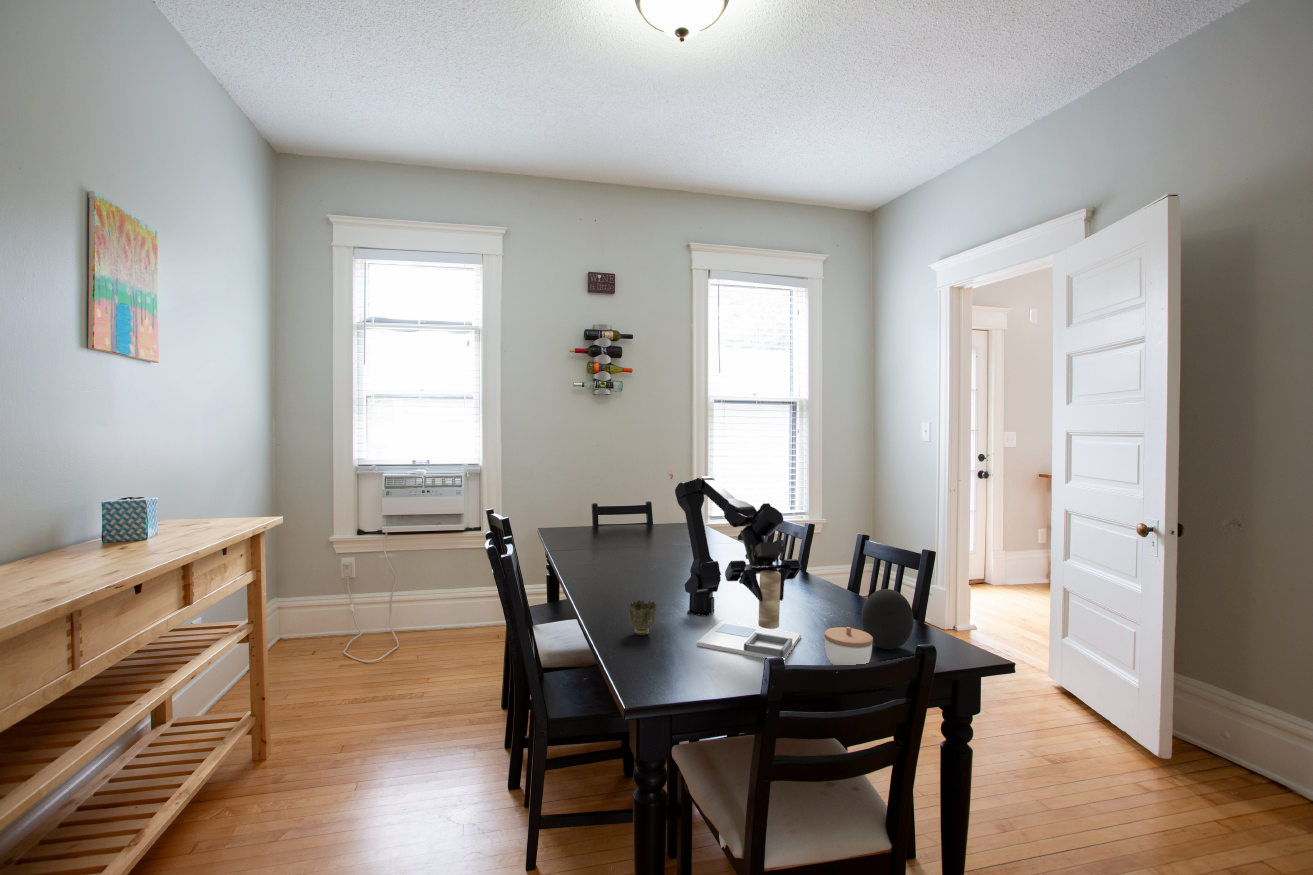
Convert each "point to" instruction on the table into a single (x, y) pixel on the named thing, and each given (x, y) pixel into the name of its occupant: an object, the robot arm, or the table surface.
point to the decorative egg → (887, 618)
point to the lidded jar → (848, 646)
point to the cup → (642, 616)
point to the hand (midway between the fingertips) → (771, 600)
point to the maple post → (769, 599)
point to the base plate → (749, 640)
